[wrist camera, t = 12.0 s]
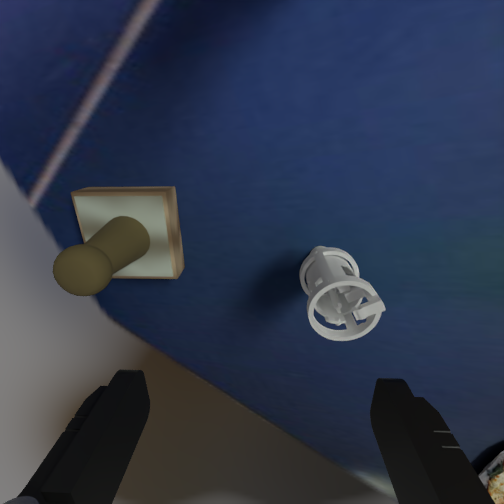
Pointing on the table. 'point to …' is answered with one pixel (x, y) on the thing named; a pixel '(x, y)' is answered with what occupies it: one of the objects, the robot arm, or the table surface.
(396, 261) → the table surface
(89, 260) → the cork
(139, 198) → the base block
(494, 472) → the food plate
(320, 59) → the table surface
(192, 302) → the table surface
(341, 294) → the grey mechanical part
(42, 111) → the table surface
